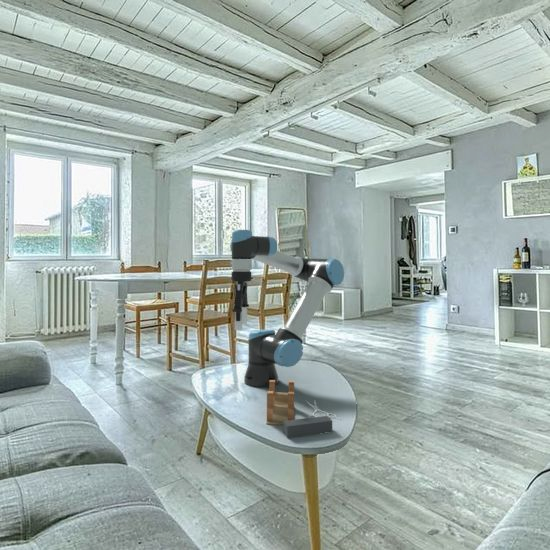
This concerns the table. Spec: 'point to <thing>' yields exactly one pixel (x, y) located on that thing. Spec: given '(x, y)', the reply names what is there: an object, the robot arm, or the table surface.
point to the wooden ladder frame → (280, 404)
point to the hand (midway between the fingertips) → (241, 326)
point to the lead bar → (307, 426)
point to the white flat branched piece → (319, 410)
